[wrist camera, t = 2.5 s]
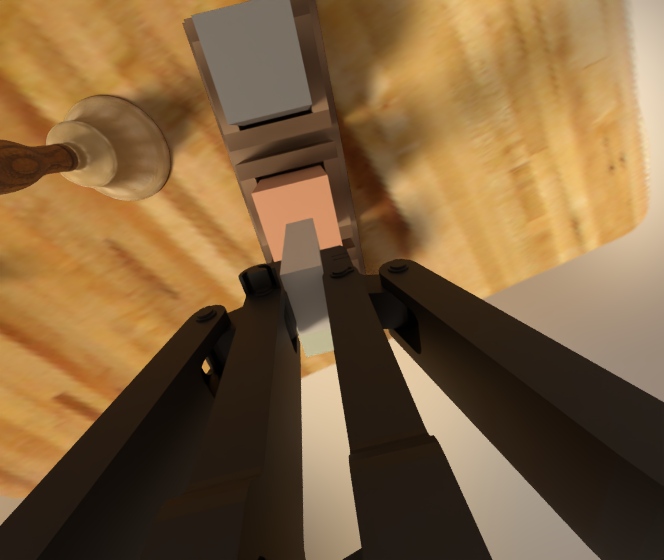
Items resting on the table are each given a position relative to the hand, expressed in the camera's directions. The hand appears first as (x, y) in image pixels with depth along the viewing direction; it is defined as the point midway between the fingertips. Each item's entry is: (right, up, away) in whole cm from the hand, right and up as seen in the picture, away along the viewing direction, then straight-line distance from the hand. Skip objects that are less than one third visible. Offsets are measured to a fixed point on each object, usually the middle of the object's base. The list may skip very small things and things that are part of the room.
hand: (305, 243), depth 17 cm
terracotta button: (-1, +5, +9) cm, 10 cm away
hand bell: (-17, +9, +9) cm, 21 cm away
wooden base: (-2, +6, +12) cm, 14 cm away
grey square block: (-3, +12, +5) cm, 14 cm away
